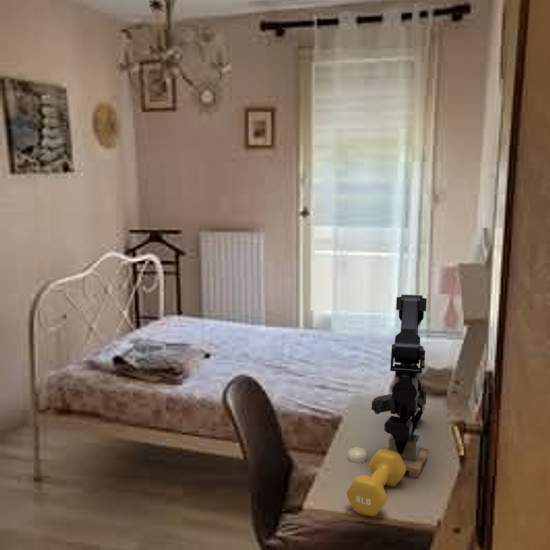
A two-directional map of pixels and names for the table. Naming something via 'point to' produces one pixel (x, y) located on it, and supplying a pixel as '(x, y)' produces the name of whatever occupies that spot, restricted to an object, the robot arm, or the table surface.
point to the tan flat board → (416, 463)
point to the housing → (408, 447)
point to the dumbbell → (376, 482)
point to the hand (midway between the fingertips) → (404, 446)
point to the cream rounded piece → (357, 454)
